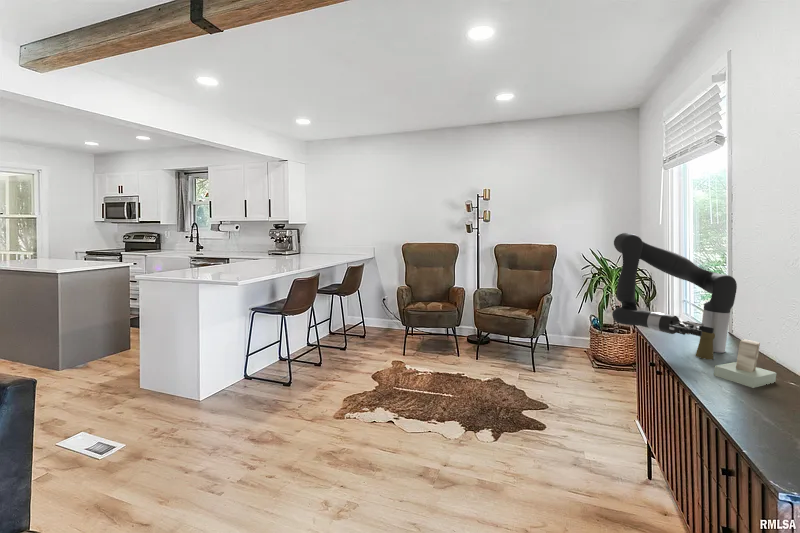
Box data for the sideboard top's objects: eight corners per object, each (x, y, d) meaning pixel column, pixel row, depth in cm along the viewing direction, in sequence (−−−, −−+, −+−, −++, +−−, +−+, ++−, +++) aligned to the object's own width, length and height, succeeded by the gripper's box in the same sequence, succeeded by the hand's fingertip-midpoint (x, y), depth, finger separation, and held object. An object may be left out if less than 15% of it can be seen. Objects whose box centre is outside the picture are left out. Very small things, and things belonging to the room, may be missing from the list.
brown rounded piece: (716, 360, 168) (720, 333, 167) (699, 358, 169) (703, 332, 168) (708, 355, 174) (712, 329, 173) (692, 354, 175) (695, 328, 174)
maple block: (739, 365, 151) (744, 339, 149) (755, 369, 147) (760, 342, 146) (735, 368, 148) (740, 341, 147) (751, 372, 145) (756, 344, 143)
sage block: (735, 371, 157) (737, 361, 156) (775, 383, 146) (776, 372, 146) (713, 376, 151) (715, 365, 150) (752, 389, 140) (754, 377, 140)
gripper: (653, 315, 168) (698, 324, 154) (673, 311, 175) (717, 320, 161) (652, 333, 169) (696, 344, 155) (671, 329, 176) (715, 339, 162)
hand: (707, 332), depth 158 cm, fingers open, 8 cm apart
